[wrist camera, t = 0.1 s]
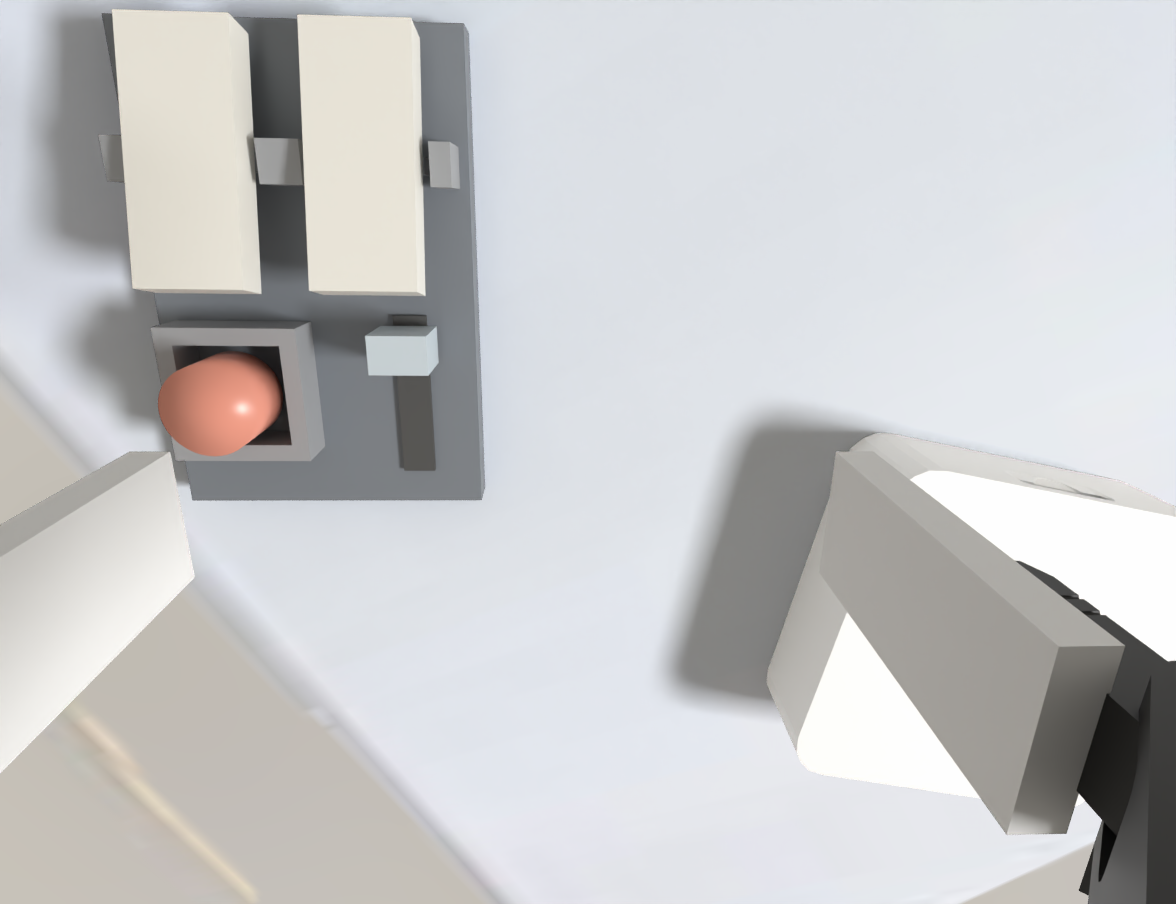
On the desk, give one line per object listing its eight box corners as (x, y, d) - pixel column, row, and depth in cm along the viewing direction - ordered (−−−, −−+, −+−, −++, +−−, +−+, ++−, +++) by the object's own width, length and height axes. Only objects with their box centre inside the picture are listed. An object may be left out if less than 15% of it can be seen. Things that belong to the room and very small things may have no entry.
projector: (1038, 741, 53) (1106, 816, 46) (756, 696, 50) (785, 769, 44) (1170, 490, 46) (1271, 536, 39) (853, 424, 44) (904, 462, 37)
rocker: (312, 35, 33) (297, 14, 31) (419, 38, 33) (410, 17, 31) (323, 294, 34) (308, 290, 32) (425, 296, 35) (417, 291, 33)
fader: (380, 325, 38) (365, 335, 35) (436, 326, 38) (425, 336, 35) (383, 362, 38) (368, 375, 35) (438, 362, 38) (428, 375, 35)
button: (188, 350, 36) (149, 364, 33) (277, 351, 37) (248, 365, 33) (202, 434, 38) (167, 456, 35) (288, 434, 38) (261, 456, 35)
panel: (126, 24, 35) (58, -6, 30) (468, 33, 35) (454, 6, 31) (208, 487, 43) (165, 522, 38) (485, 487, 44) (476, 521, 39)
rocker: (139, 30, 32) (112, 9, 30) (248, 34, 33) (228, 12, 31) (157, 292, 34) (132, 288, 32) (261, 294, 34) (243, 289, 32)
